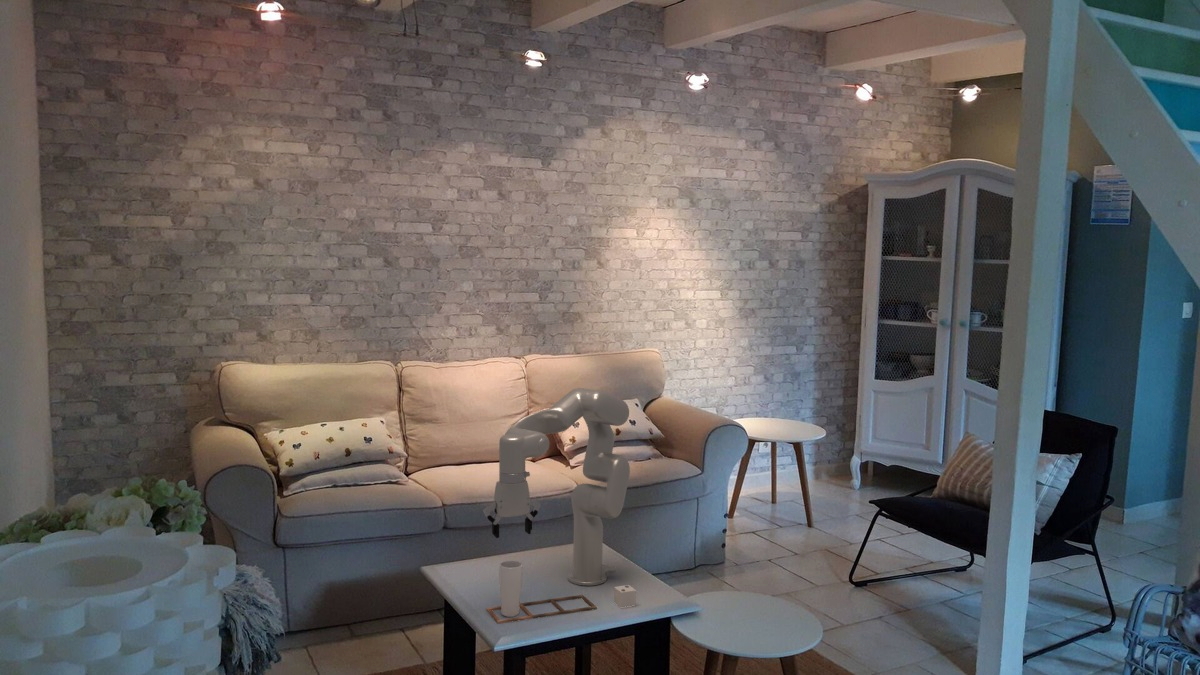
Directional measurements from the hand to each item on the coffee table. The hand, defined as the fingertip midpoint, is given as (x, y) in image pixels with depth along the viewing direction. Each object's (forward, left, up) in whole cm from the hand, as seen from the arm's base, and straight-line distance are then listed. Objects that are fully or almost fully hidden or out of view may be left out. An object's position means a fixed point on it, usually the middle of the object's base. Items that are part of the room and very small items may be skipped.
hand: (512, 534), depth 265 cm
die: (-35, +5, -24) cm, 42 cm away
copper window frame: (-10, 0, -24) cm, 26 cm away
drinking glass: (0, 0, -24) cm, 24 cm away
